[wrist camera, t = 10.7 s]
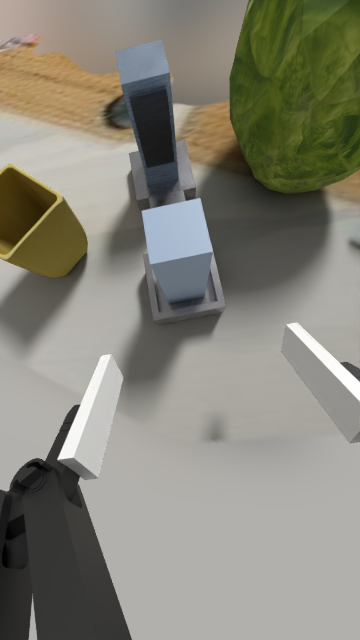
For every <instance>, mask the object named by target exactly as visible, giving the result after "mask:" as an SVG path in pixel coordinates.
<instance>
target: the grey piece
mask: <svg viewBox="0 0 360 640" xmlns="http://www.w3.org/2000/svg"><path fill="white" fill-rule="evenodd" d="M116 56H117V63H118V69H119V75H120V81H121V86H122V90H123V94H124V97H125V101H126V105H127V109H128V112H129V116H130V120H131V123H132V127H133V131H134V134H135V138H136V142H137V145H138V149H139V151H137V152H132V153H129V156H130V162H131V169H132V175H133V182H134V188H135V195H136V201H137V203H138V206H139V209H140V211H143V210H147V209H152V208H156V207H161V206H166V205H170V204H175V203H180V202H184V201H189V200H193V199H196V186H195V182H194V178H193V173H192V169H191V165H190V161H189V157H188V152H187V148H186V144H185V140H184V141H180V142H176V139H175V128H174V117H173V105H172V94H171V82H170V72H169V68H168V64H167V59H166V55H165V51H164V47H163V43H162V40H158V41H154V42H150V43H146V44H143V45H138V46H135V47H130V48H127V49H123V50H119V51H116ZM210 242H211V241H210ZM211 246H212V245H211ZM212 250H213V249H212ZM143 258H144V264H145V271H146V277H147V284H148V290H149V297H150V303H151V310H152V317H153V321H154V322H156V323H157V324H158V325H160V324H166V323H171V322H176V321H181V320H187V319H192V318H197V317H202V316H207V315H213V314H218V313H222V312H223V311H224V309H225V308H226V303H225V299H224V295H223V290H222V286H221V282H220V278H219V274H218V270H217V265H216V261H215V257H214V253H213V254H212V259H211V265H210V270H209V276H208V281H207V287H206V293H205V297H200V298H195V299H190V300H185V301H180V302H175V303H169V302H168V300H167V298H166V296H165V294H164V292H163V290H162V288H161V286H160V284H159V282H158V280H157V278H156V276H155V274H154V272H153V270H152V268H151V266H150V261H149V255H148V254H143Z"/></svg>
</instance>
